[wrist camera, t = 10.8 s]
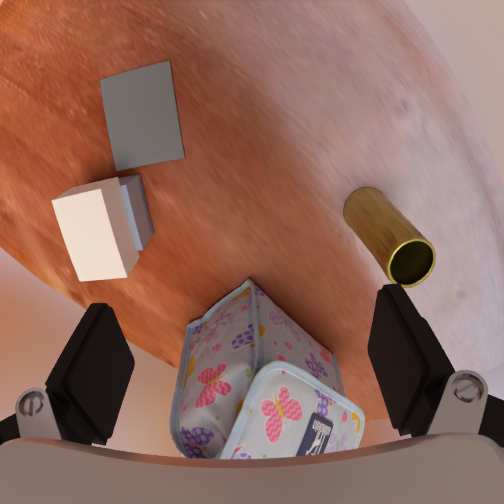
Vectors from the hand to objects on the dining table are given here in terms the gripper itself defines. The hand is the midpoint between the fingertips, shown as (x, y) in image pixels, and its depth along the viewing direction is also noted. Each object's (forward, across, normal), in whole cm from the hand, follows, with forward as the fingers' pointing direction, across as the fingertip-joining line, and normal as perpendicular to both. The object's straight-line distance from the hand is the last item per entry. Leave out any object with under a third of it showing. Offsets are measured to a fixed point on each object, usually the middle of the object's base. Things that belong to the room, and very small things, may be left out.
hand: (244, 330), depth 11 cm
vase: (+29, -14, +8) cm, 33 cm away
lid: (+24, +18, +4) cm, 30 cm away
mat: (+29, +12, -7) cm, 32 cm away
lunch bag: (+29, -1, +28) cm, 40 cm away
